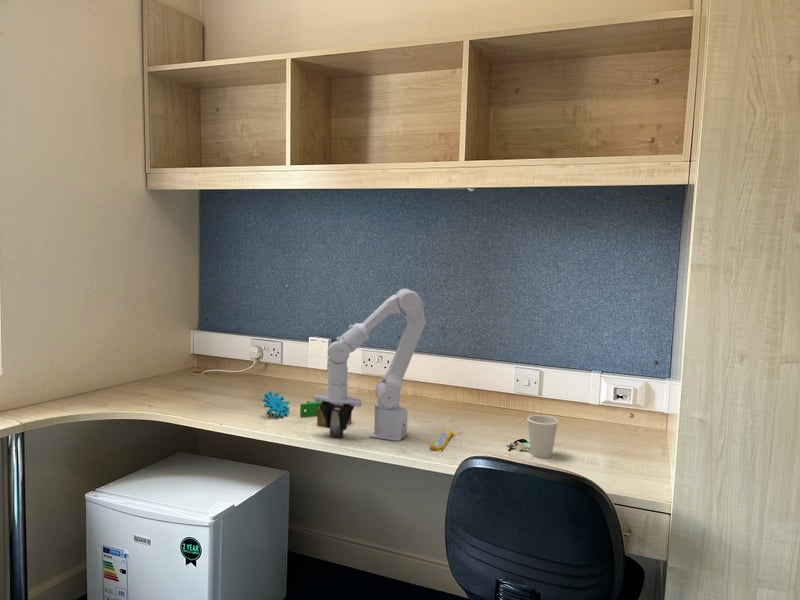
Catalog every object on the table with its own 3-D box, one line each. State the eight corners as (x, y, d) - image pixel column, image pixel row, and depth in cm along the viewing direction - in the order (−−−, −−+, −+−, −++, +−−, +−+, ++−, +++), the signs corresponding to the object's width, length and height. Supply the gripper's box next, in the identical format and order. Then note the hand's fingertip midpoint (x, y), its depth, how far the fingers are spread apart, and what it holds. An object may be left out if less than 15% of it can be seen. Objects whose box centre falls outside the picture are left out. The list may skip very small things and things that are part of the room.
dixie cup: (526, 458, 163) (528, 422, 162) (524, 448, 171) (526, 414, 171) (558, 461, 162) (560, 424, 161) (555, 451, 170) (556, 416, 169)
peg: (345, 435, 179) (346, 408, 178) (339, 439, 175) (340, 412, 174) (333, 433, 180) (333, 407, 179) (327, 437, 176) (327, 410, 176)
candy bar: (443, 453, 166) (443, 447, 166) (428, 452, 167) (428, 445, 167) (454, 436, 182) (455, 430, 182) (441, 434, 184) (441, 428, 183)
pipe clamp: (329, 412, 204) (330, 399, 204) (333, 415, 201) (334, 401, 200) (297, 415, 199) (298, 401, 199) (301, 418, 196) (301, 404, 195)
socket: (351, 422, 192) (351, 405, 192) (340, 429, 185) (340, 411, 184) (328, 419, 195) (328, 402, 194) (317, 425, 187) (317, 408, 187)
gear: (272, 416, 191) (260, 390, 195) (262, 427, 193) (250, 401, 197) (297, 414, 199) (285, 389, 204) (287, 424, 202) (275, 399, 206)
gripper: (365, 382, 177) (364, 427, 179) (321, 377, 182) (320, 421, 183) (356, 387, 171) (355, 434, 172) (310, 382, 176) (309, 427, 177)
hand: (336, 428), depth 177 cm, fingers closed on peg, 4 cm apart
